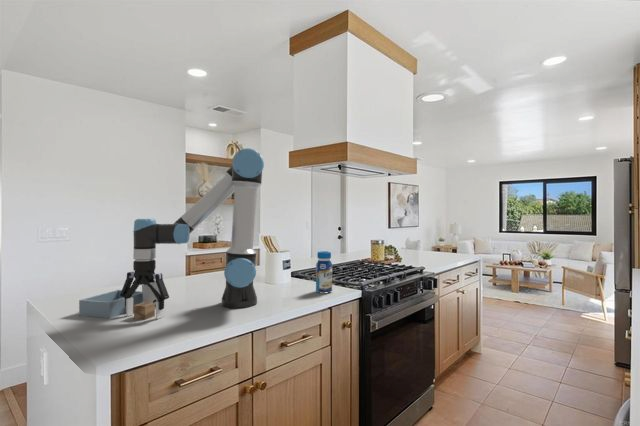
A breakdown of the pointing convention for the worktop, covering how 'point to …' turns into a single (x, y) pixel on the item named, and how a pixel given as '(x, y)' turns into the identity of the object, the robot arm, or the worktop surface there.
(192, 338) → the worktop surface
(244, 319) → the worktop surface
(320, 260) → the beverage bottle
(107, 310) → the tote
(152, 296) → the cup
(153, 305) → the walnut cube
